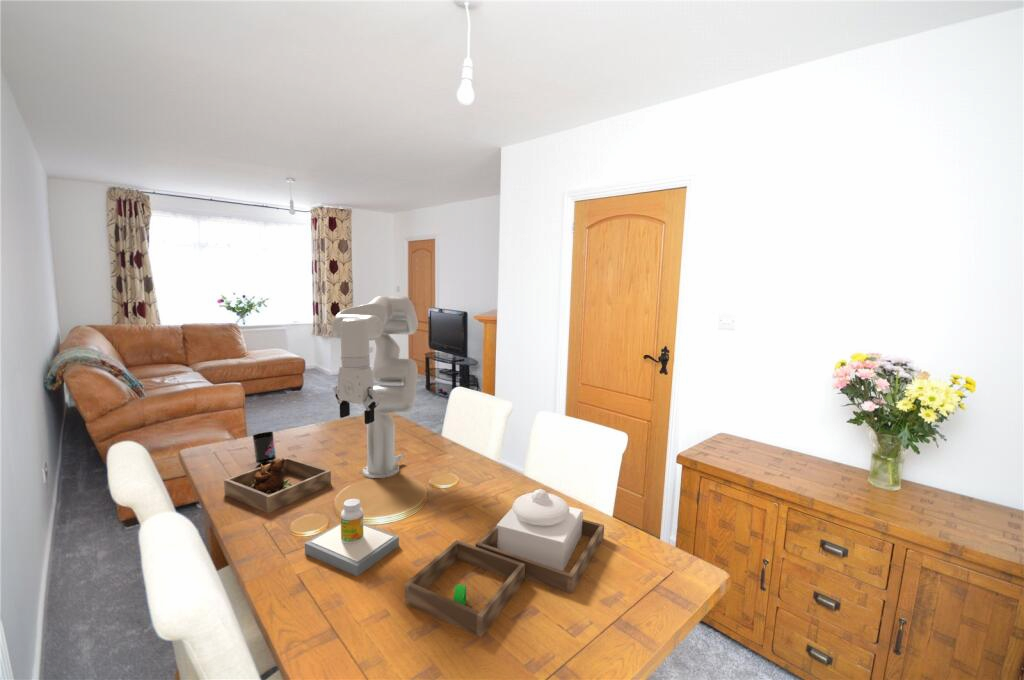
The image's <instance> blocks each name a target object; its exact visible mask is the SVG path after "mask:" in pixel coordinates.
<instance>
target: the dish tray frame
mask: <svg viewBox="0 0 1024 680" xmlns="http://www.w3.org/2000/svg"><path fill="white" fill-rule="evenodd" d="M604 535H605V524H602V523H598V522H594V521H590V520H587V519H583V521H582V535H581V536H587V537H590V541H588V544H587V545H586V547H585V548H584V550H583V551H582V553H581V554H580V555H579V558H578V559H577V561H576V562H575V564H574V566H573V567H572V568H571V570H570V572H567V571H565V570H564V571H561V570H558V569H555V568H552V567H549V566H547V565H544V564H541V563H538V562H535V561H532V560H529V559H526V558H523V557H520V556H517V555H514V554H511V553H508V552H506V551H503V550H500V549H497V547H495V546H496V545H497V542H498V528H496V525H494V527H492V529H490V530H489V531H488V532H487V533H486V534H484V535H483V536H482V537H481V538H480V540H478V541H477V542H476V543H475V547H478V548H480V549H483V550H486V551H489V552H492V553H495V554H498V555H501V556H503V557H506V558H509V559H512V560H515V561H518V562H521V563H524V564H525V579H526V580H531V581H533V582H536V583H539V584H542V585H544V586H547V587H549V588H553V589H554V590H555V589H556V590H558V591H562V592H563V593H567V594H570V595H572V594H573V592H574V590H575V588H576V587H577V585H578V583H579V582H580V580H581V578H582V576H583V575H584V573H585V571H586V569H587V568H588V566H589V564H590V563H591V561H592V559H593V557H594V556H595V554H596V552H597V551H598V549H599V547H600V546H601V544H602V542H603V540H604Z"/></svg>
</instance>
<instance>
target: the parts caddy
mask: <svg viewBox="0 0 1024 680" xmlns="http://www.w3.org/2000/svg"><path fill="white" fill-rule="evenodd" d="M457 561H460V562H462V563H466V564H468V565H471V566H473V567H476V568H479V569H482V570H485V571H488V572H490V573H493V574H495V575H498V576H501V577H504V578H506V580H505V581H504V583H503V584H502V585H501V586H500V587H499V589H498V590H497V591H496V592H495V593H494V594H493V596H492V597H490V599H489V600H488V601H487V603H486V604H485V605H484V607H482V608H481V610H480V611H478V610H476V609H474V608H473V607H470V606H467V605H466V604H465V605H463V604H460V603H458V602H456V601H453V599H451V598H448V597H446V596H443V595H441V594H439V593H437V592H434V591H432V590H430V589H428V588H429V587H430V586H431V585H432V584H433V583H434V582H435V581H436V580H437V579H438V578H439V577H441V575H443V574H444V573H445V572H446V570H448V569H449V568H450V567H451V566H452V565H453V564H455V562H457ZM525 579H526V578H525V564H524V563H521V562H518V561H515V560H512V559H509V558H506V557H503V556H501V555H498V554H495V553H492V552H489V551H486V550H483V549H480V548H478V547H476V545H475V546H474V545H472V544H469V543H466V542H464V541H463V542H462V541H460V540H458V539H456V540H455V541H453V543H451V544H450V545H449V546H448V547H447V548H446V549H444V550H443V551H442V552H441V553H439V555H437V556H436V557H434V559H433V560H431V561H430V562H429V563H428V564H426V566H424V567H423V568H422V569H420V571H418V572H417V573H416V574H415V575H413V576H412V577H411V578H410V579H409V580H407V582H405V583H404V604H405V605H407V606H409V607H410V608H411V607H412V608H413V609H417V610H418V611H420V612H422V613H425V614H427V615H430V616H432V617H434V618H436V619H439V620H441V621H443V622H445V623H447V624H449V625H451V626H454V627H457V628H458V629H461V630H463V631H465V632H467V633H470V634H472V635H474V636H476V637H478V638H482V637H483V636H484V635H485V633H486V632H487V631H488V629H489V628H490V627H491V625H492V624H493V623H494V621H496V619H497V617H498V616H499V615H500V614H501V612H502V611H503V610H504V608H505V607H506V606H507V604H508V603H509V602H510V600H511V599H512V598H513V597H514V595H515V594H516V593H517V592H518V590H519V589H520V588H521V586H522V585H523V584H524V583H525Z"/></svg>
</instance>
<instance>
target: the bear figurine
mask: <svg viewBox="0 0 1024 680" xmlns="http://www.w3.org/2000/svg"><path fill="white" fill-rule="evenodd" d="M284 458H285V457H284ZM284 458H283V457H282V458H281V459H282V460H281V459H279V458H276V459H273V460H272V461H270V462H269V464H270V463H271V464H270V466H269V465H267V464H265V465H263V463H260V467H261V472H257V473H256V474H255V476H254V477H255V482H251V483H250V485H249V486H250V488H253V489H255V490H258V491H261V492H263V493H266V494H269V495H271V494H273V493H275V492H278V491H280V490H282V489H285V488H287V487H290V486H292V485H293V483H292V482H291V481H290V480H291V479H285V478H284V476H283V475H284V474H283V472H284V470H283V469H282V468H283V466H284V465H283V464H284V462H285V459H284ZM289 481H290V482H289Z"/></svg>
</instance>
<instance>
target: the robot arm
mask: <svg viewBox="0 0 1024 680" xmlns="http://www.w3.org/2000/svg"><path fill="white" fill-rule="evenodd" d="M418 326H419V321H418V316H417V313H416V310H415V307H414V304H413V301H412V300H411V299H410V298H409V297H408V296H405V295H402V296H401V295H378V296H376V297H375V298H373V299H372V300H371V301H369V302H368V303H366V304H361V305H356V306H352V307H348V308H344V309H342V310H341V311H339V312H337V314H336V315H335V316H334V318H333V320H332V322H331V332H332V334H333V336H334V337H335V338H336V339H338V340H340V361H341V365H339V370H338V374H337V375H338V376H337V385H335V386H334V387H333V388H332V389H333V391H334V394H335V395H334V396H335V399H336V400H337V404H338V405H339V418H341V419H344V418H346V417H348V416H350V415H351V414H350V413H351V409H350V408H351V406H350V405H351V404H350V403H352V404H358V405H363V407H364V409H365V410H364V413H363V415H364V424H365V425H366V466H364V467H363V468H362V475H363V476H364V477H366V478H368V479H373V478H381V479H387V478H391V477H393V476H396V475H397V474H398V473H399V472H400V465H398V464H397V463H398V462H399V461H401V460H403V459H404V455H403V454H401V453H400V454H397V455H396V454H395V453H396V451H395V447H396V444H395V443H396V442H395V439H396V437H395V436H396V434H395V429H396V428H395V427H396V426H395V421H394V418H392V416H391V414H390V413H392V414H395V413H396V414H407V413H411V412H412V411H413V409H414V407H415V404H416V396H417V385H418V377H419V376H418V371H419V370H418V365H417V362H416V361H415V360H414V359H412V358H400V352H401V349H400V346H399V344H398V343H397V342H396V340H395V339H394V338H393V337H392V336H391V335H405V336H407V335H409V336H411V335H414V334H415V333H416V332H417V330H418ZM370 341H374V343H375V348H376V349H375V356H374V362H373V369H372V367H371V366H370V365H371V364H370ZM374 382H375V383H377V385H374ZM386 477H387V478H386Z"/></svg>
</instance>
